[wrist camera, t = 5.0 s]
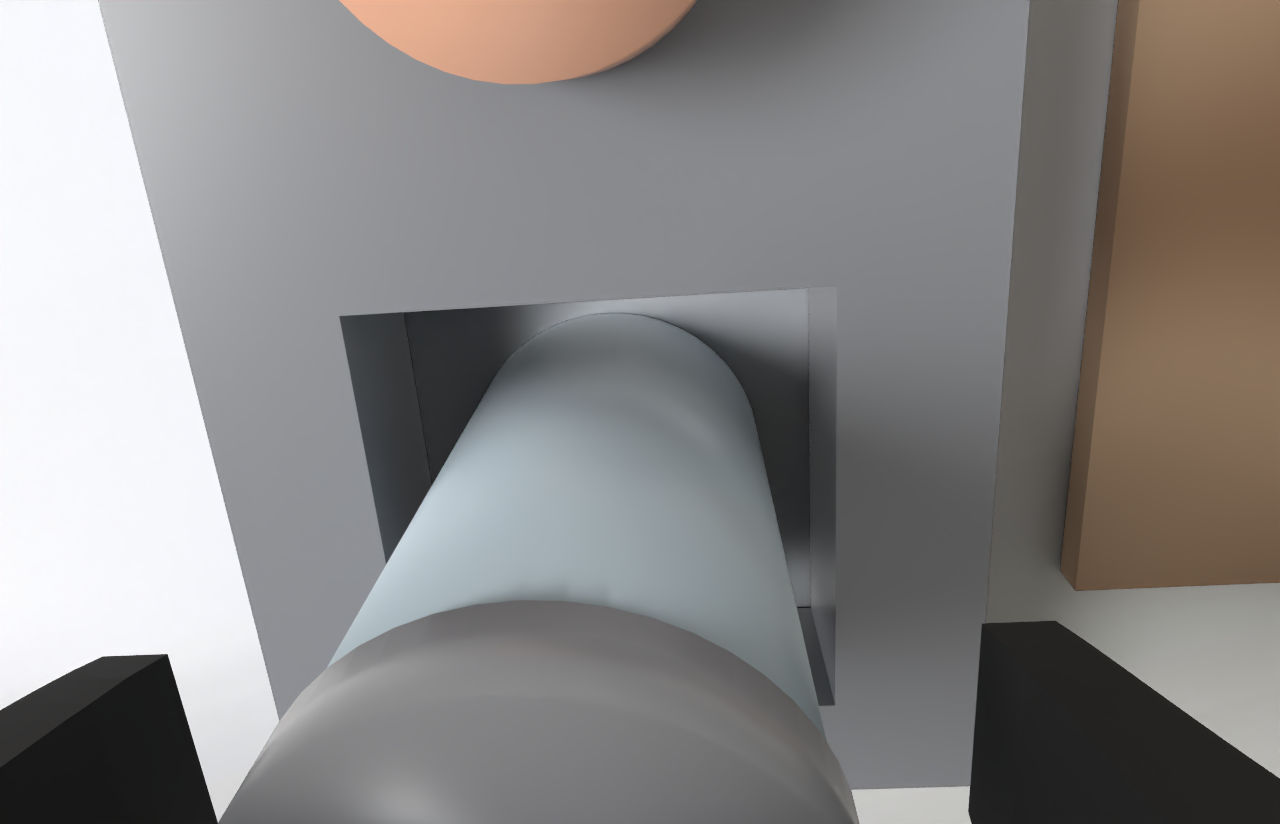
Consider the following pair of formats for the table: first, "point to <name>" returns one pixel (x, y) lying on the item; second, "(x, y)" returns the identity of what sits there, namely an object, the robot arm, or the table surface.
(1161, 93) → the walnut pad
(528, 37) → the plunger
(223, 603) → the table surface
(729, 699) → the cylinder
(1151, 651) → the table surface
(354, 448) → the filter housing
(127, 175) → the table surface
